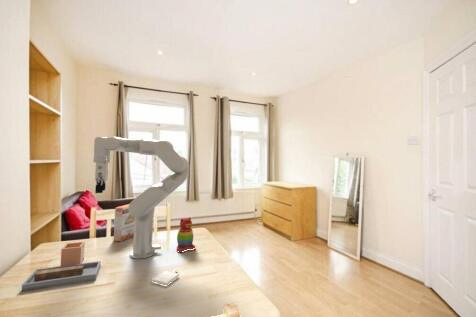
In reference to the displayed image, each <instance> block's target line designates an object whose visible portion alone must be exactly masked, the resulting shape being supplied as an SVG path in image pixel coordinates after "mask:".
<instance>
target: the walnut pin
mask: <svg viewBox="0 0 476 317" xmlns="http://www.w3.org/2000/svg"><path fill="white" fill-rule="evenodd" d="M83 269H84V265H80V266H72V267H64V268H57V269H49V270H41V271H37V272H36V273H35V277H34V282H37V281H44V280H51V279H58V278H64V277H71V276H78V275H82V274H83Z"/></svg>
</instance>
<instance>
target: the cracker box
mask: <svg viewBox="0 0 476 317" xmlns="http://www.w3.org/2000/svg"><path fill="white" fill-rule="evenodd" d="M129 205H130V203H128V204H124V205H121V206H120V205H119V206H117V207H115V209H114V211H115V212H114V224H113V225H114V226H113V241H114V242H121V243H122V242H123V241H125V240H127V239H129V238H131V236H132V237H134V236H133V235H134V221H135V217H133V216H132V215H130V213H129V210H128V208H129Z"/></svg>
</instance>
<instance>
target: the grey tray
mask: <svg viewBox="0 0 476 317" xmlns="http://www.w3.org/2000/svg"><path fill="white" fill-rule="evenodd" d="M101 262H102V261H101V260H99V261H97V260H96V261H91V262H90V261H89V262H82V263H81V264H73V265H66V266H61V265H59V266H58V265H57V266H51V267H43V268H37V269H35V270H34V271H33V272H32V274H30V275H29V277H27V279H25V281H24V282H23V283H22V284H21V292H27V291H28V292H29V291H33V290H41V289H46V288H53V287H59V286H66V285H73V284H78V283H85V282H90V281H92V282H93V281H96V280H97V277H98V274H99V272H100V270H101ZM80 265H84V269H83V274H82V275H78V276H71V277H64V278H58V279H51V280H44V281H37V282H34V277H35V273H36V272H37V271H41V270H49V269H57V268H64V267H72V266H80Z"/></svg>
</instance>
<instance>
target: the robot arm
mask: <svg viewBox="0 0 476 317" xmlns="http://www.w3.org/2000/svg"><path fill="white" fill-rule="evenodd" d="M93 144H94V145H93V147H94V148H93V163H95V170H94V172H95V173H94V175H95V176H94V180H95V194H103V193H104V191H106V181H108V180H109V164H110V163H111V162H110V161H111V151H112V152H121V153H131V154H132V153H134V154H139V155H145V156H157V157H158V158H159V160H161V162H162V163H163V164H164V165H165V166H166V167H167V168H168V169H169V171H171V173H170V174H168V175H167V176H166V177H165V178H163V179H162V180H161V181H160V182H158V183H155V184H153V185H151V186H149V187H148V188H147V189H145V190H144V191H142V193H140V194H139V195H138V196H136V197H135V198H134V199H133V200H132V201H130V203H129V204H130V205H129V208H128V210H129V213H130V215H132V216H133V217H135V221H134V236H133V243H132V244H133V245H132V250H131V251H130V252H129V257H131V258H133V259H145V258H146V259H147V258H150V257H152V256H153V255H155V253H156V250H162V245H159V244H153V234H154V232H153V231H154V214H155V209H156V208H155V207H157V206H158V205H159V204H161V203H162V202H163V201H164V200H166V199H167V197H169V196H170V195H171V194H172V193H174V192H175V191H176V190H177V189H178V188H180V187H181V185H183V184H184V183H185V182H186V180H187V179H188V178H189V177H188V176H189V173H190V163H189V161H188V160H187V158H185V157H184V156H181V155H179V154H178V152H176V151H175V149H174V144H173V143H171V141H167V140H164V139H159V140H156V139H147V138H142V139H129V138H123V137H118V136H110V137H106V136H96V137H95V138H94V142H93Z"/></svg>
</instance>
